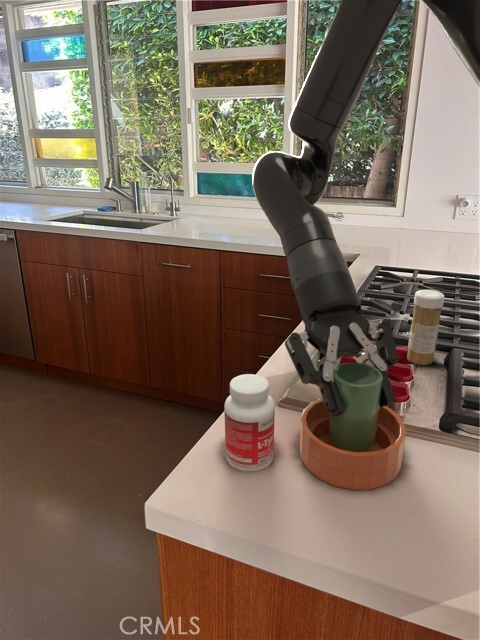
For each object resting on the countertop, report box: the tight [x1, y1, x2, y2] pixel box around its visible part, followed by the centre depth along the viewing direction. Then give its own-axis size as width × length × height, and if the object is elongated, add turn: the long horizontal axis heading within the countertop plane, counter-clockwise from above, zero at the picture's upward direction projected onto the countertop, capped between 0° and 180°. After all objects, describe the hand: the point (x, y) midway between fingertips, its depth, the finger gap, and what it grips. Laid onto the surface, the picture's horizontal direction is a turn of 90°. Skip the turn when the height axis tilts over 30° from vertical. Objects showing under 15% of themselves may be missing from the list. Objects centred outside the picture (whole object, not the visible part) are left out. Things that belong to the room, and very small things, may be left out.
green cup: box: [329, 362, 383, 451], centre depth 56 cm, size 6×6×9 cm
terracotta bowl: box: [299, 397, 406, 491], centre depth 58 cm, size 12×12×6 cm
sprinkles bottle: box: [406, 289, 445, 366], centre depth 79 cm, size 5×5×14 cm
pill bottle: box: [223, 373, 276, 472], centre depth 57 cm, size 6×6×11 cm
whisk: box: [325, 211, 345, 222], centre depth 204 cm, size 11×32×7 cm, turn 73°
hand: (362, 409), depth 54 cm, fingers closed on green cup, 5 cm apart
